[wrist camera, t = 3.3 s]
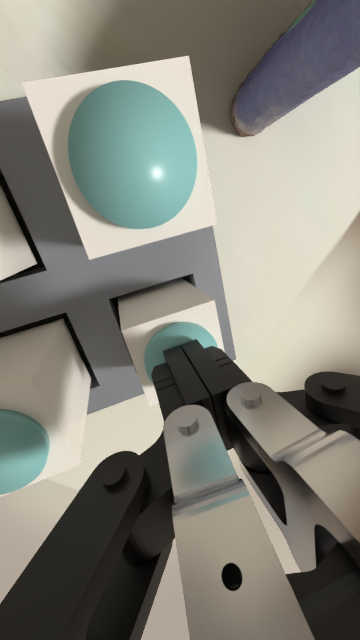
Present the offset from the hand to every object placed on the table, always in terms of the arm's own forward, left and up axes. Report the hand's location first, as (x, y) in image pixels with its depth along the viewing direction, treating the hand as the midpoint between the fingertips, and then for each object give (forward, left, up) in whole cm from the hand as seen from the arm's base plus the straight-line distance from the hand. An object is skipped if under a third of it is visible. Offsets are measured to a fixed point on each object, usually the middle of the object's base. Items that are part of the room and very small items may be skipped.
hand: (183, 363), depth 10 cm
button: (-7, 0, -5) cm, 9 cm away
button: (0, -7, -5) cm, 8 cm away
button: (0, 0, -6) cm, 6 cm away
